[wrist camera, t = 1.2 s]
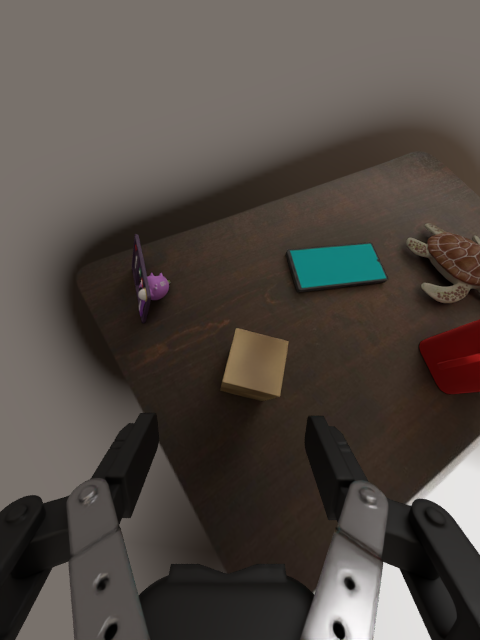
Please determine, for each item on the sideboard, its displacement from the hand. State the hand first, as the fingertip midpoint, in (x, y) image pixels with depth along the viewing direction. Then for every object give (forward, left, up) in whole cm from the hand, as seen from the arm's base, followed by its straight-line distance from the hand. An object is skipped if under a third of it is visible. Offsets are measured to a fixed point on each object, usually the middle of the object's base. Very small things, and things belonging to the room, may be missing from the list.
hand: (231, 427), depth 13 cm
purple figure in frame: (-1, +19, -17) cm, 26 cm away
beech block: (+5, +4, -17) cm, 18 cm away
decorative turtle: (+45, +4, -17) cm, 48 cm away
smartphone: (+26, +12, -17) cm, 33 cm away
